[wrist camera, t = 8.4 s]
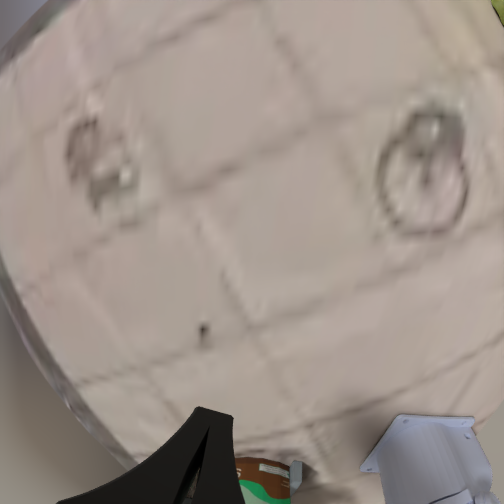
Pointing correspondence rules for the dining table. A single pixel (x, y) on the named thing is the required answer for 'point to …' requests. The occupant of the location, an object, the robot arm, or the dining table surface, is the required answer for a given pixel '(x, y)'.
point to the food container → (263, 481)
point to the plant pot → (499, 8)
